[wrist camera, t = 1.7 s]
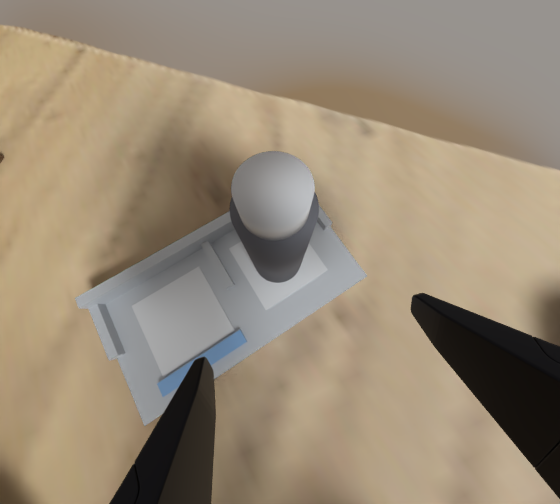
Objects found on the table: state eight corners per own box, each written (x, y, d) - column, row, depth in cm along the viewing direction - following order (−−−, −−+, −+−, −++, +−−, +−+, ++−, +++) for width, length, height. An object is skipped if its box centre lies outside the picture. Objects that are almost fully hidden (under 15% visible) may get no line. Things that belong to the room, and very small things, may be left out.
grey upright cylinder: (309, 250, 23) (343, 167, 10) (287, 291, 22) (295, 256, 9) (268, 229, 23) (253, 127, 11) (245, 268, 22) (198, 205, 10)
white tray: (297, 185, 25) (299, 171, 23) (365, 276, 23) (375, 272, 20) (97, 300, 22) (74, 298, 20) (147, 423, 19) (128, 438, 17)
